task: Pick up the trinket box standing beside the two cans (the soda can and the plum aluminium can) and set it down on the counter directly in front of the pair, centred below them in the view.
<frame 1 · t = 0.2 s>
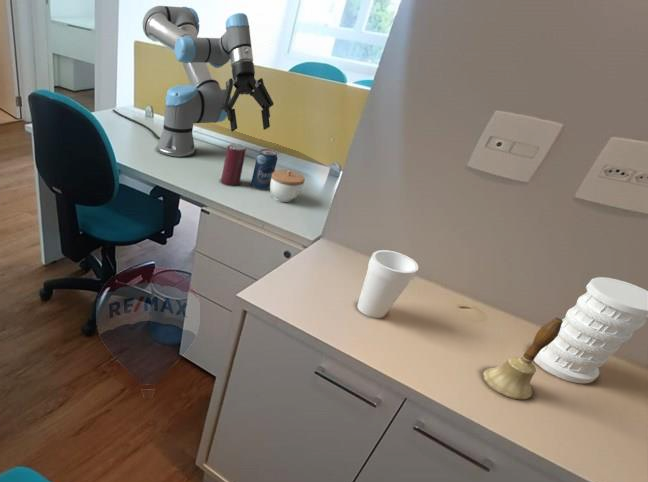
hand: (250, 129, 156), 16 cm above the table, tool tilted 35°, fingers open, 13 cm apart
hand bell: (505, 384, 87), on the table
aluminium can: (230, 182, 159), on the table
trinket box: (282, 199, 151), on the table
soda can: (260, 187, 158), on the table
foam cup: (370, 310, 104), on the table
decorative container: (560, 364, 93), on the table
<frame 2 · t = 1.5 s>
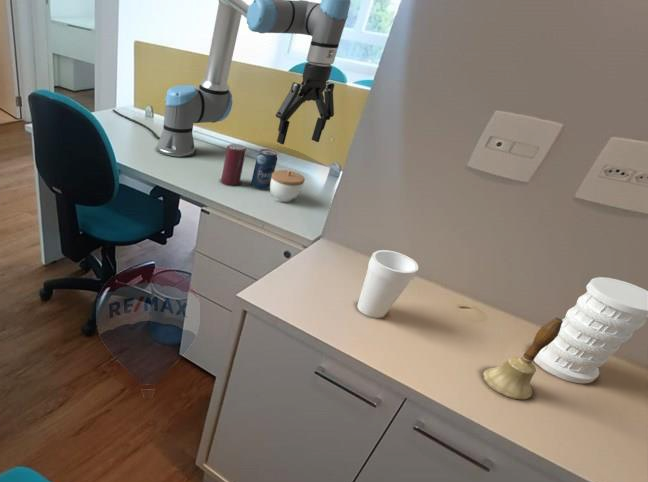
hand: (297, 142, 139), 19 cm above the table, tool pointing down, fingers open, 13 cm apart
nothing on the table moved.
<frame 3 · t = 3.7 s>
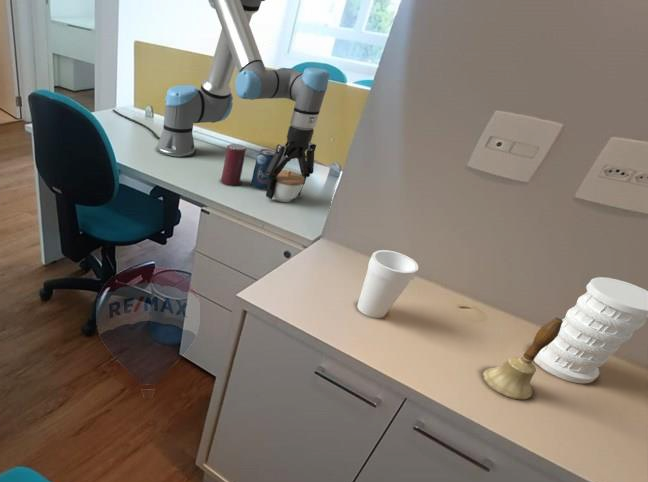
hand: (282, 195, 151), 1 cm above the table, tool pointing down, fingers closed on trinket box, 11 cm apart
trinket box: (282, 199, 151), on the table, touching gripper
everything else where it was.
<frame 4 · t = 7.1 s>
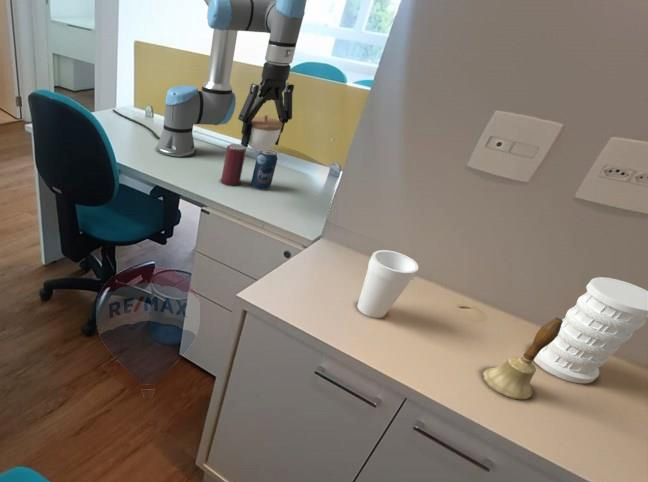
hand: (259, 144, 138), 17 cm above the table, tool pointing down, fingers closed on trinket box, 11 cm apart
trinket box: (258, 148, 139), point 16 cm above the table, touching gripper
everything else where it was.
when the fingers open (1 cm above the table, at t = 10.6 s): trinket box stays where it is, on the table.
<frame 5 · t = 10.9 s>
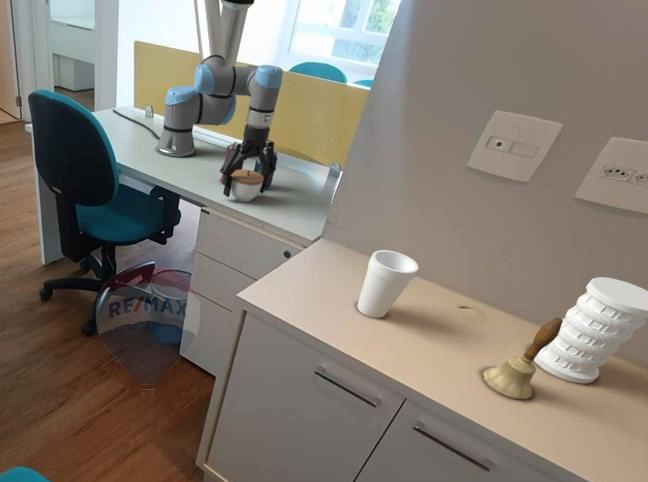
hand: (243, 193, 148), 2 cm above the table, tool pointing down, fingers open, 13 cm apart
trinket box: (242, 198, 149), on the table
everything else where it was.
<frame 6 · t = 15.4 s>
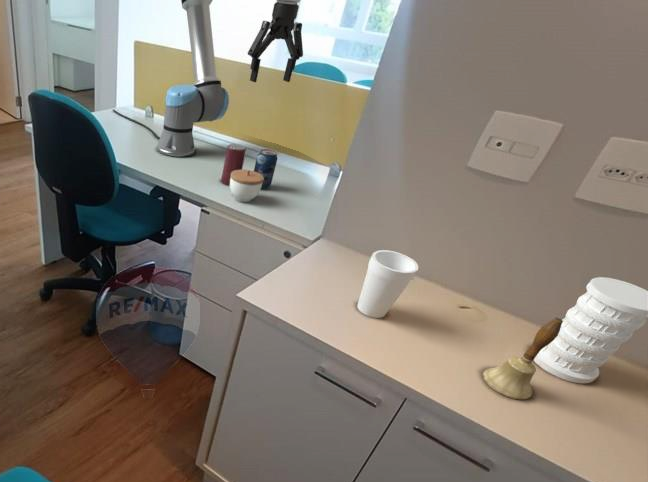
hand: (269, 81, 149), 31 cm above the table, tool pointing down, fingers open, 13 cm apart
nothing on the table moved.
at the end: trinket box inside the target area (0.1 cm from its centre), on the table; trinket box tilted 0°; the gripper is holding nothing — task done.
